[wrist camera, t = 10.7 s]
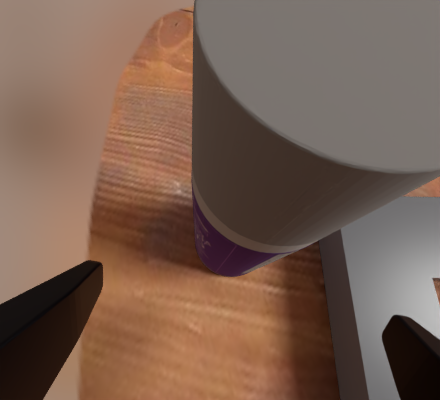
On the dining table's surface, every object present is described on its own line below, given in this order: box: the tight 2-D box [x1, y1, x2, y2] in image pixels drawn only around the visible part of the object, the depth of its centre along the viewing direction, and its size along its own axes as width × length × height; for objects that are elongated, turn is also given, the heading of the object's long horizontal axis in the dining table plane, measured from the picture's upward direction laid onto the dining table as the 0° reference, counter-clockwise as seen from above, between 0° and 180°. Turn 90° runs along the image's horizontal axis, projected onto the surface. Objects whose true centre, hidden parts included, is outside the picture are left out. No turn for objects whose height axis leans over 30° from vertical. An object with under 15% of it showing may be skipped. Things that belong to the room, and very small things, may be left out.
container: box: [192, 0, 440, 277], centre depth 11 cm, size 5×5×15 cm
